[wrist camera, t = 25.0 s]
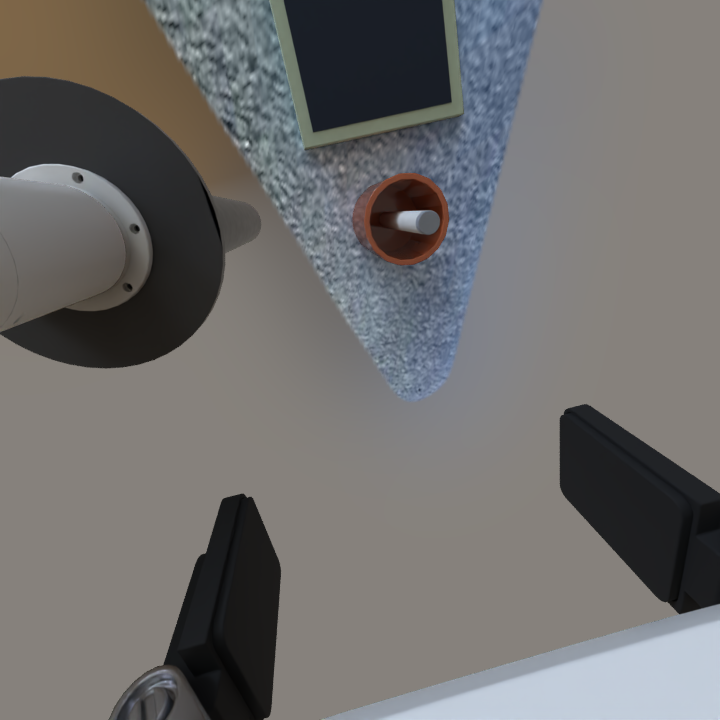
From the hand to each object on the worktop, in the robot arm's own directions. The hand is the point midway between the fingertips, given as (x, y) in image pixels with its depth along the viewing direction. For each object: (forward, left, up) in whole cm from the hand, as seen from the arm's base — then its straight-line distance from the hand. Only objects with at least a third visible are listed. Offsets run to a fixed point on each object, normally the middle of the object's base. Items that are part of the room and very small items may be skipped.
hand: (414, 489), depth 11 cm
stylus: (+6, +6, -28) cm, 29 cm away
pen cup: (+6, +6, -28) cm, 30 cm away
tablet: (+7, +22, -28) cm, 37 cm away
